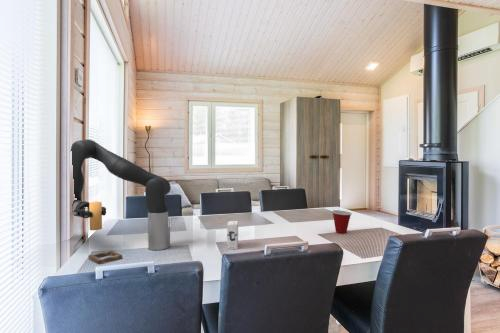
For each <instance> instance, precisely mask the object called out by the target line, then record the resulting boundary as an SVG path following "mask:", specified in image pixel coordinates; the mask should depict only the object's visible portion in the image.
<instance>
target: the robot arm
mask: <svg viewBox="0 0 500 333" xmlns="http://www.w3.org/2000/svg"><path fill="white" fill-rule="evenodd" d="M71 151H72V165H73V179H74V194H75V197H74V198H77V200H74V201H73V204H72V212H73V213H72V214H73V216H74V217H78V218H79V217H80V218H83V219H90V217H92V212H90V211H89V203H90V202H89V201H86V200H83V197H82V196H83V189H84V185H85V176H84V174H83V170H82V169H83V164H84V161H85V160H86V159H93V160H96V161H98V162H100V163H102V164H103V165H104V166H105V168H106V170H107V171H108V172H109V173H110V174H112V175H113V176H116V177H117V178H119V179H122V180H124V181H127V182H130V183H135V184H138V185H140V186H143V187H145V191H144V192H145V206H146V208H147V233H148V234H147V236H148V238H147V242H148V244H147V245H148V250H150V251H161V250H167V249H168V248H170V247H171V227H170V226H169V206H168V204H167V203H166V201H165V200H166V198H165V196H167V195H168V194H169V193H170V192H171V183H170V181H169V180H167V179H166V178H165V177H163V176H160V175H157V174H154V173H152V172H149V171H148V170H146V169H144V168H143V167H141V166H139V165H137V164H136V163H134V162H132V161H130V160H129V159H126V158H124V157H122V156H120V155H118V154H117V153H114V152H112V151H110V150H108V149H107V148H105V147H103V146H102V145H100V144H99V143H98V142H96V141H94V140H92V139H81V140H76V141H75V142H73V143H72V144H71V146H70V152H71ZM106 215H107V208H106V207H105V206H102V216H106Z"/></svg>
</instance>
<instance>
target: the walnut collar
mask: <svg viewBox="0 0 500 333" xmlns="http://www.w3.org/2000/svg"><path fill="white" fill-rule="evenodd" d="M107 256H108V257H107ZM87 257H88V259H87V260H90V261H92V262H93V263H94V264H97V265H102V264H105V263H111V262H113V261H118V260H121V259H123V254H121V253H119V252H116V250H115V251H114V250H106V251H102V252H97V253H93V254H89V255H88V256H87Z"/></svg>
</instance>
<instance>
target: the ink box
mask: <svg viewBox="0 0 500 333" xmlns="http://www.w3.org/2000/svg"><path fill="white" fill-rule="evenodd" d="M226 232H227V234H226V241H227V244H226V247H227V248H226V249H227V250H238V248H239V220H229V221H228V222H227V224H226Z"/></svg>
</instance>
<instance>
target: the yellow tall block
mask: <svg viewBox="0 0 500 333" xmlns="http://www.w3.org/2000/svg"><path fill="white" fill-rule="evenodd" d="M102 205H103V204H102V201H91V202H89V211H90V212H92V217H89V230H90V231H99V230H102V229H103V215H102V207H103V206H102Z"/></svg>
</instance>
